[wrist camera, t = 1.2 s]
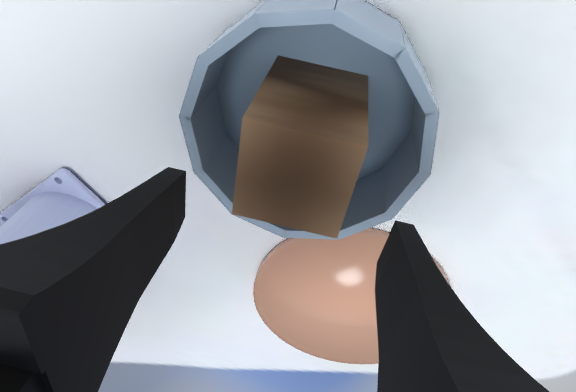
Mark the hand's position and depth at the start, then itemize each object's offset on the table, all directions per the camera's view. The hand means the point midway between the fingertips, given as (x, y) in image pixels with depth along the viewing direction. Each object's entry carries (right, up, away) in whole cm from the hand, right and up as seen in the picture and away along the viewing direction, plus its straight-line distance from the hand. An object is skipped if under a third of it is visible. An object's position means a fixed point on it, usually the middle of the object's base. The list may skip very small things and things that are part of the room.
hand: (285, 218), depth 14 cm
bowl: (+2, +6, +8) cm, 10 cm away
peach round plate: (+5, -7, +16) cm, 18 cm away
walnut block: (+1, +5, +7) cm, 9 cm away
